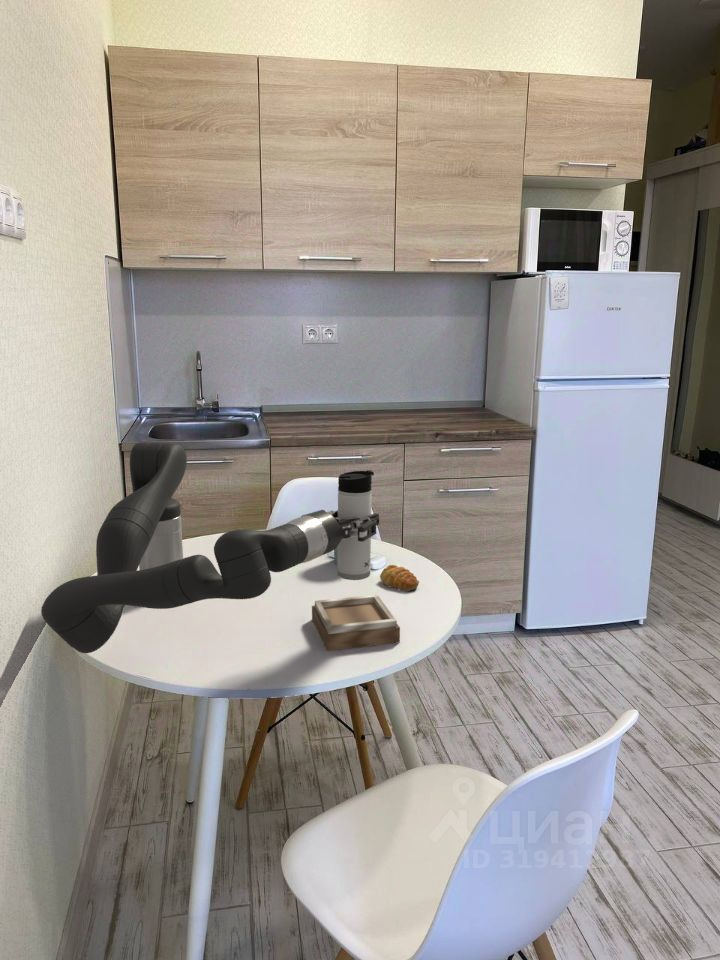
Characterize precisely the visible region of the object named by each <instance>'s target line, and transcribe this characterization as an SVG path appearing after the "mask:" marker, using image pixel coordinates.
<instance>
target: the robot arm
mask: <svg viewBox="0 0 720 960" xmlns="http://www.w3.org/2000/svg"><path fill="white" fill-rule="evenodd" d="M187 465H188V459H187V453H186V451H185V449H184V447H183V446H181V445H180V444H178V443H176V442H175V443H174V442H159V441H155V442H154V441H140V442H137V443H135V444H134V445H133V446H132V448H131V449H130V455H129V472H130V474H129V475H130V480H131V489H132V493H130V494H129V495H127V496H125V497H124V498H122V499H121V500H120V501H118V502H117V503H116V504H114V506H112V508H111V509H110V510H109V512H108V513H107V515H106V517H105V519H104V521H103V523H102V525H101V526H100V528H99V530H98V534H97V535H96V536H97V538H96V542H95V543H96V547H95V549H96V550H95V551H96V552H95V553H96V570H97V571H96V573H97V575H90V576H83V577H79V578H78V577H77V578H73V579H71V580H68V581H65V582H64V583H62V584H60V585H59V586H57V587H56V588H55V589H54V590H52V591H51V592H50V593H49V594H48V596H47V597H46V598H45V599H44V602H43V604H42V605H41V609H40V610H41V612H40V613H41V617H42V619H43V620H44V621H45V623H46V624H47V625H48V626H49V628H50V629H52V630H53V631H54V632H55V633H56V634H57V635H58V636H59V637H60V638H61V639H62V640H64V642H66V643H67V645H69V647H71V648H72V649H74V650H75V651H76V652H79V653H81V654H91V653H93V652H97V651H98V650H99V649H101V648H102V647H103V646H105V644H106V643H107V642H108V641H109V639H111V637H112V636H113V634H114V633H115V631H116V629H117V627H118V625H119V623H120V620H121V618H122V615H123V611H124V608H125V606H132V607H136V608H137V607H140V608H147V609H151V610H152V609H154V610H155V609H157V610H165V609H166V610H167V609H175V608H179V607H182V606H187V605H191V604H193V603H196V602H199V601H200V602H201V601H203V600H212V599H213V600H214V599H227V600H249V599H255V598H257V597H259V596H261V595H263V594H264V593H266V591H267V590H268V589H269V587H270V586H271V584H272V583H271V582H272V576H271V575H272V574H271V573H270V572H272V573H282V572H284V571H287V570H289V569H292V568H294V567H296V566H298V565H300V564H305V563H308V562H310V561H313V560H315V559H317V558H320V557H322V556H325V555H327V554H329V553H331V552H334V549H336V548H337V546H338V545H339V543H340V541H341V540H344V539H346V538H350V537H355V536H357V537H358V541H360V542H362V541H365V540H367V539H368V538H370V537H371V538H372V537H374V536H375V535H376V534H377V526H379V525H380V515H379V513H375V512H374V513H371V515H369V516H367V517H365V518H358V517H356V516H353V517H346V518H343V517H338V509H337V510H330V511H326V510H325V509H320V510H317V511H313V512H309V513H307V514H302V515H301V516H299V517H296V518H294V519H291V520H290V521H288V522H287V523H285V524H281V525H280V526H276V527H273V528H270V529H266V530H261V529H258V530H257V529H245V528H244V529H234V530H229V531H227V532H225V533H223V534H222V535H221V536H219V537H218V539H216V541H215V542H214V546H213V553H214V557H215V561H216V563H217V566H218V569H219V571H218V570H217V569H216V567H215V565H214V564H213V562H212V561H211V560H210V559H209V558H208V557H207V556H205V555H203V554H194V555H190V556H187V557H184V548H183V534H182V533H183V532H182V531H183V530H182V529H183V528H182V512H181V511H182V510H181V509H182V508H181V504H180V502H179V501H178V500H177V499H175V498H173V496H174V494H175V493H176V491H177V489H178V488H179V486H180V484H181V482H182V480H183V479H184V475H185V474H186V471H187V470H186V469H187ZM351 521H353V529H352V525H351ZM361 522H363V524H362V525H360V523H361ZM138 568H139V569H138ZM219 572H220V573H219Z"/></svg>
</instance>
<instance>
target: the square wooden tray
mask: <svg viewBox="0 0 720 960" xmlns="http://www.w3.org/2000/svg"><path fill="white" fill-rule="evenodd" d="M311 620H312V622H313V624H314V627H315V629H316V631H317V633H318V635H319V638H320V639H321V641H322V644H323V646H324V648H325V651H326V652H329V651H338V650H346V649H355V648H356V649H357V648H363V647H371V646H372V647H373V646H379V645H381V646H382V645H389V643H390V644H397V643H396V642H399V643H401V642H400V641H401V627H400V626H399V624H398V621H397V619H396V618H395V616H394V615H393V613H392V612H391V611H390V610H389V609H388V607H387V606H386V604H385V603H384V601H383V600H382V599H381V597H380V596H379V595H378V594H372V595H370V594H369V595H364V596H363V595H362V596H361V595H359V596H353V597H351V596H348V597H339V598H332V599H331V598H330V599H319V600H314V604H313V605H311Z"/></svg>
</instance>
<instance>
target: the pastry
mask: <svg viewBox="0 0 720 960" xmlns="http://www.w3.org/2000/svg"><path fill="white" fill-rule="evenodd" d="M379 577H380V581H381V582H382V584H383V585H386V586H387V587H389V588H392V589H394V588H396V589H395V590H398V589H399V590H398V591H406V592H410V591H413V590H415V589H417V588H418V586H419V581H418V578H417V577H416V575H414V573H413V572H411V571H410V570H409V569H407V568H405V567H404V566H397V565H396V564H389V565H387V566H386V567H385V568H383V570H382V571H381V573H380V574H379Z"/></svg>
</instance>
